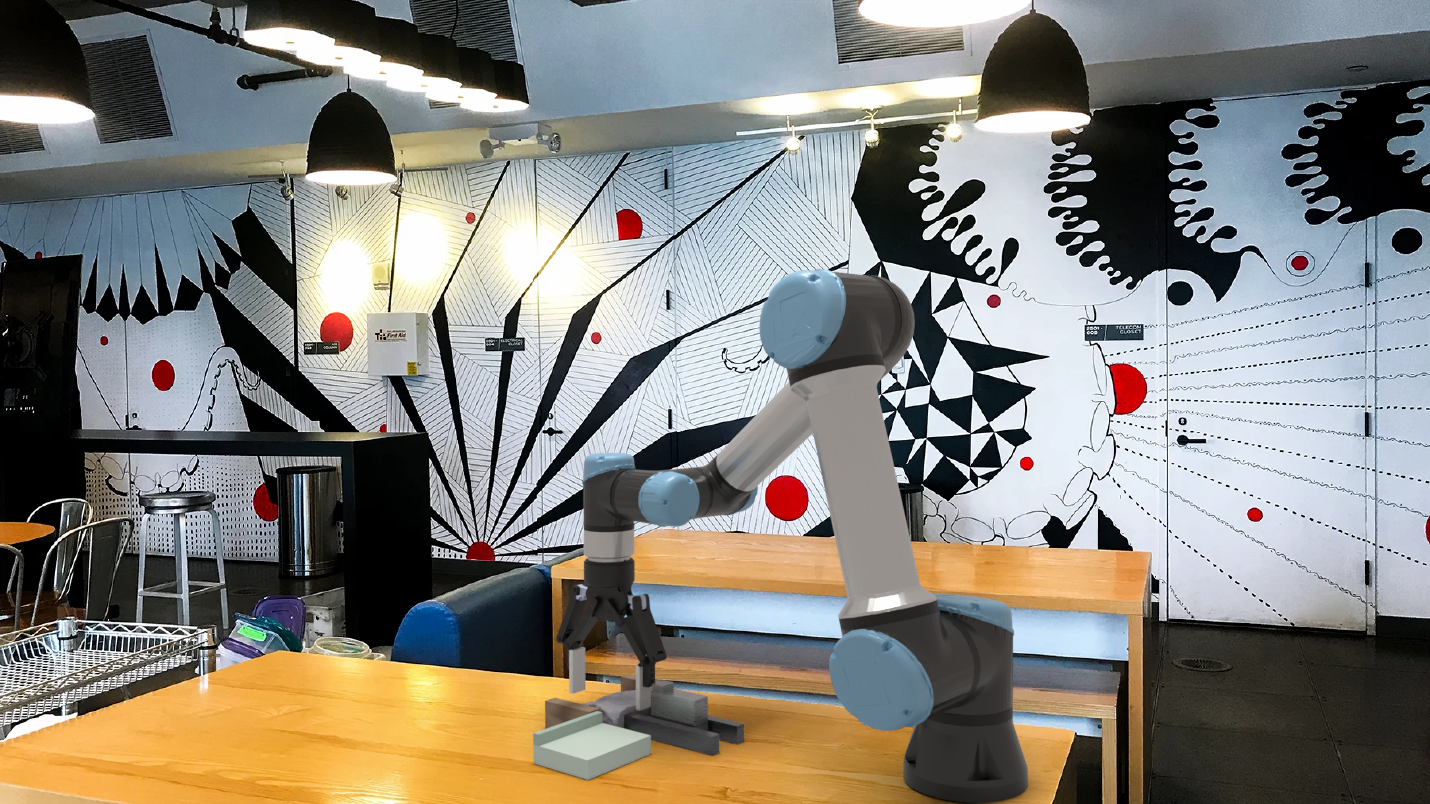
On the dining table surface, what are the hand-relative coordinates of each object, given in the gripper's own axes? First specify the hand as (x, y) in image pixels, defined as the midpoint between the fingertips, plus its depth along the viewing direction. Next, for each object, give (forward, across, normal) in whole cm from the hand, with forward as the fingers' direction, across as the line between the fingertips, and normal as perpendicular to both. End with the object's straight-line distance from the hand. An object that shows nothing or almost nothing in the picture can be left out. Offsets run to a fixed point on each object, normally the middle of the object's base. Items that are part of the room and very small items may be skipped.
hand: (609, 699), depth 164 cm
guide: (+3, -14, 0) cm, 14 cm away
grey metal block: (+3, -14, 0) cm, 14 cm away
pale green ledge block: (+3, -10, +14) cm, 18 cm away
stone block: (+3, -1, 0) cm, 4 cm away
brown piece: (+3, 0, 0) cm, 3 cm away
